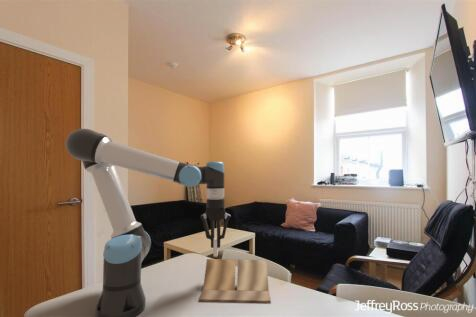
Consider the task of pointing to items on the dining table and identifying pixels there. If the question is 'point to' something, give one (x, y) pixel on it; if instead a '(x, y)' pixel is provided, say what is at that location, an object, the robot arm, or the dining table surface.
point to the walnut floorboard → (235, 296)
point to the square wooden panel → (252, 275)
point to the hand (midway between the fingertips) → (215, 255)
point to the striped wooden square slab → (219, 274)
